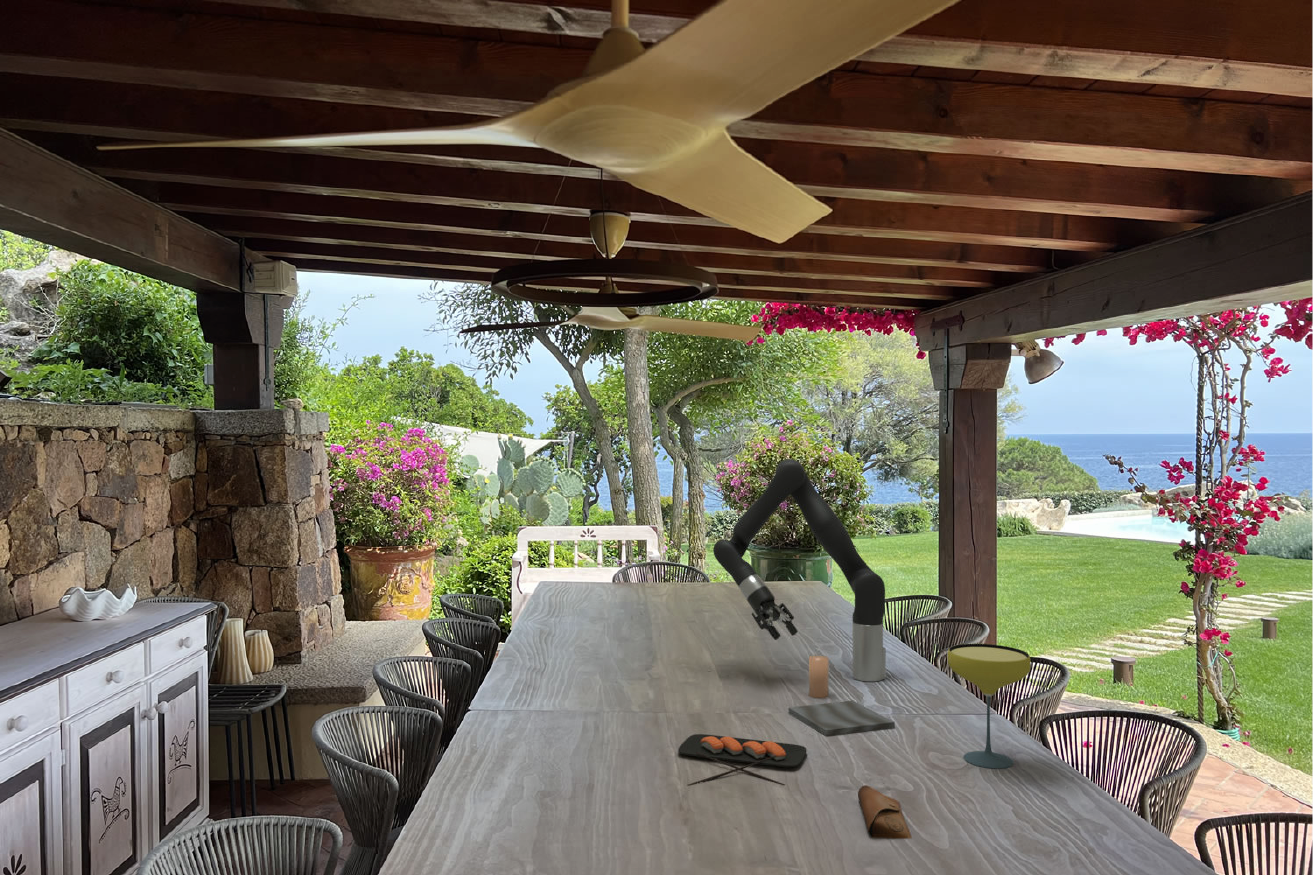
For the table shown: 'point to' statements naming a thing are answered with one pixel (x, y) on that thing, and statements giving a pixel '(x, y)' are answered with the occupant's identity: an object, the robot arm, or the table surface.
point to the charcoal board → (841, 718)
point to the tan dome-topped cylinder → (818, 676)
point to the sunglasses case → (882, 815)
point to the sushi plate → (742, 752)
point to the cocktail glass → (989, 684)
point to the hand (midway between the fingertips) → (786, 635)
